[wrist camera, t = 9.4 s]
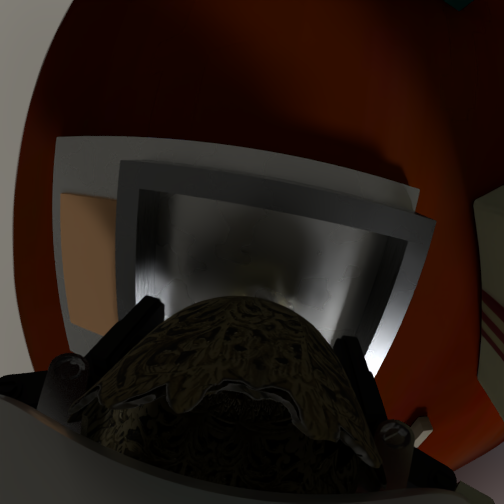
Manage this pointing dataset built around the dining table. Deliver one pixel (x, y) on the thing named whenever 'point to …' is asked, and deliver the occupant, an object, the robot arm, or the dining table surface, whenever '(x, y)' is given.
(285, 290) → the grey flat rectangular tray
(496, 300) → the gift box
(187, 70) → the dining table surface
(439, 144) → the dining table surface
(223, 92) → the dining table surface
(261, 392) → the cup
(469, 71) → the dining table surface
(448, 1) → the bracket
